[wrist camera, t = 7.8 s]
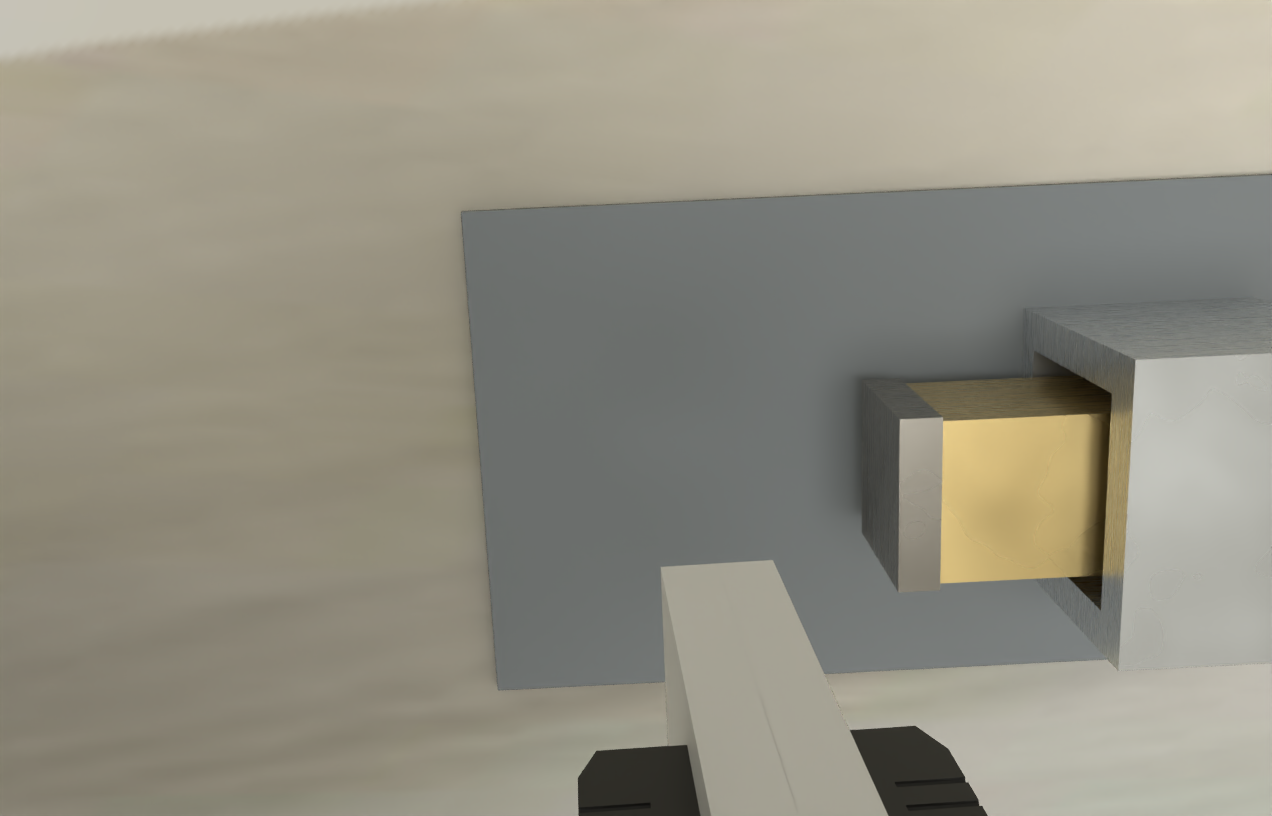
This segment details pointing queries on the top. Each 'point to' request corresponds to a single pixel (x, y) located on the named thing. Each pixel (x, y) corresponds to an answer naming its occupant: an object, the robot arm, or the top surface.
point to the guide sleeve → (1173, 477)
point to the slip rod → (985, 479)
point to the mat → (780, 396)
